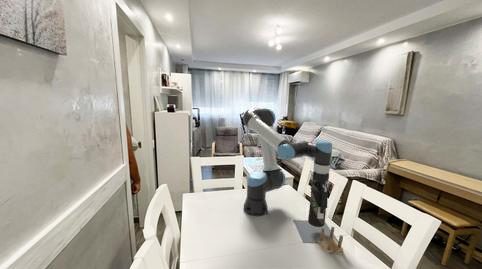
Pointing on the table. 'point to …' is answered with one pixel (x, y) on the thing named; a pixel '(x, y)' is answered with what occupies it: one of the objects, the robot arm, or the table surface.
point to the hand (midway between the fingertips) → (316, 213)
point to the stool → (330, 242)
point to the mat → (311, 231)
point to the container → (315, 208)
